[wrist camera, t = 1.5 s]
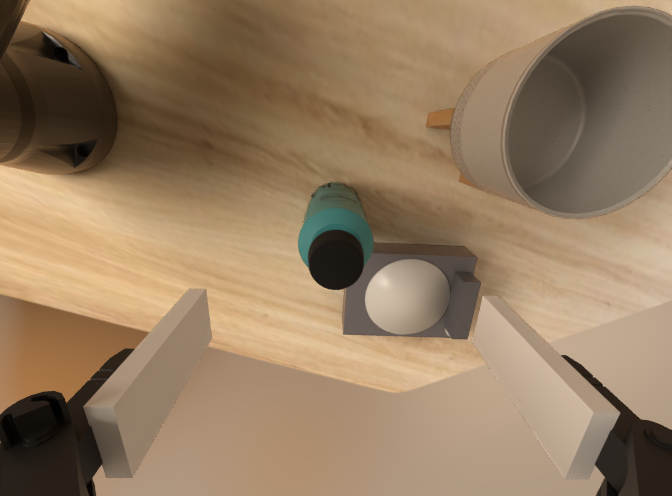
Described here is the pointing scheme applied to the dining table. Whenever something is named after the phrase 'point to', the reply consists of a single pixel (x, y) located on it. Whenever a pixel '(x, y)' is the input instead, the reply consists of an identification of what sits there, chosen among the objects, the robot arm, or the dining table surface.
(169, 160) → the dining table surface
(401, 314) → the domed button base
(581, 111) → the planter
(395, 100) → the dining table surface
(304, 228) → the beverage bottle
